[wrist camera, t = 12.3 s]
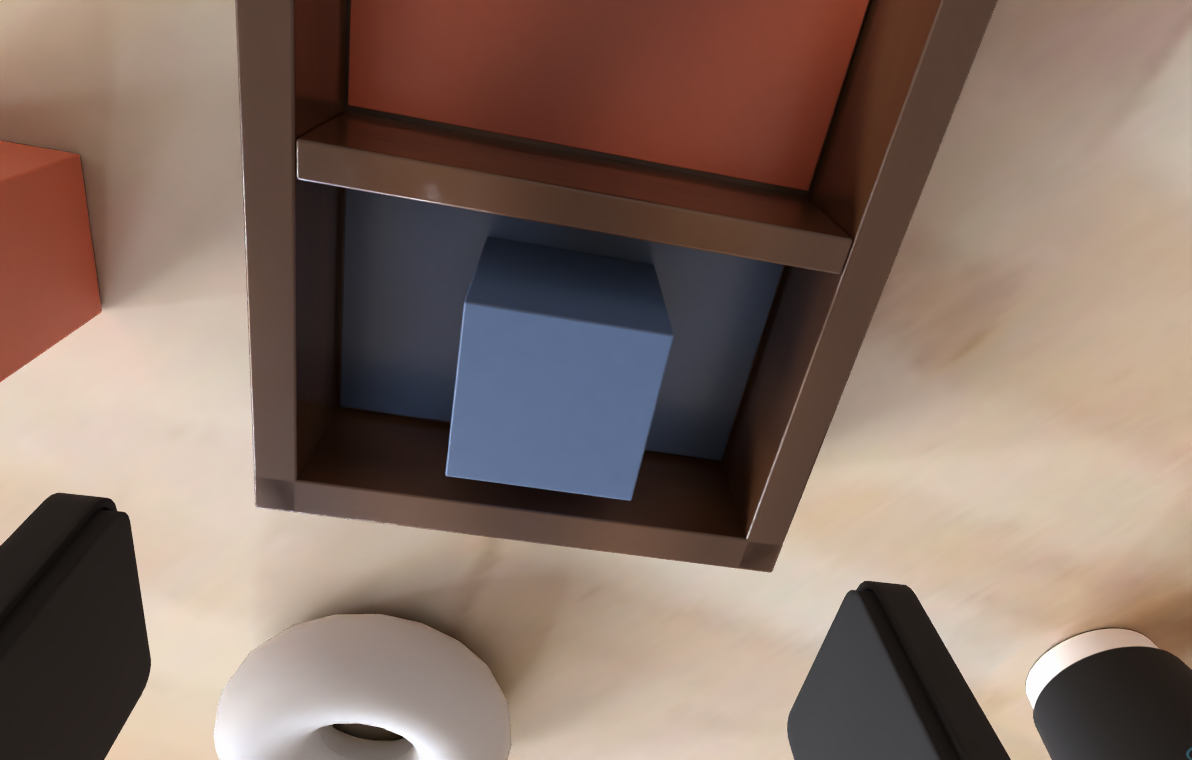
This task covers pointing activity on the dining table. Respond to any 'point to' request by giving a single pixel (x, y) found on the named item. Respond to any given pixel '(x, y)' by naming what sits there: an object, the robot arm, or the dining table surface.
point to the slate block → (557, 370)
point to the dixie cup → (1112, 699)
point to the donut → (362, 695)
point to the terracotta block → (42, 253)
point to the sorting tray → (578, 235)
